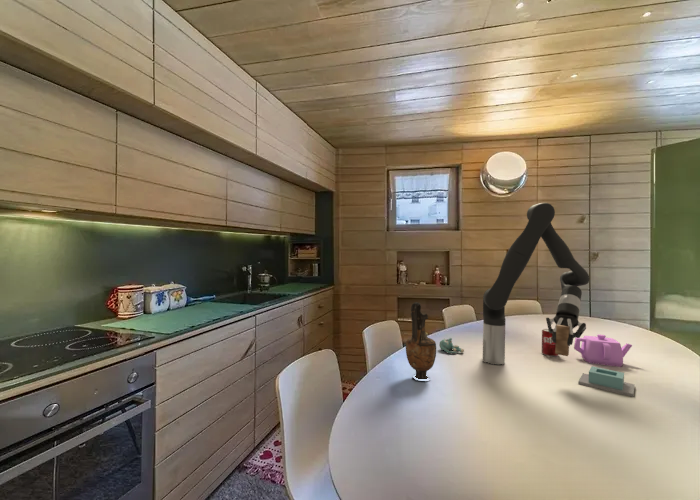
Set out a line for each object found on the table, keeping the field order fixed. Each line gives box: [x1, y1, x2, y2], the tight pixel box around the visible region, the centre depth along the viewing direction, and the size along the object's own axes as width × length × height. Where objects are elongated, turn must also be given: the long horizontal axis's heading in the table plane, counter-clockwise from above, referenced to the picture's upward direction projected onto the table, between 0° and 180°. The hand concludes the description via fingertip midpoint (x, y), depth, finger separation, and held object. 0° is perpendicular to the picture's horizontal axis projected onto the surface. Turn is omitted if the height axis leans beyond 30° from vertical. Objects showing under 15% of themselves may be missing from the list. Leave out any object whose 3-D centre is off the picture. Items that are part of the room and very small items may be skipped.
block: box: [555, 324, 570, 357], centre depth 128 cm, size 4×2×11 cm, turn 48°
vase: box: [405, 301, 437, 379], centre depth 129 cm, size 12×12×30 cm
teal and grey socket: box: [577, 365, 636, 398], centre depth 126 cm, size 16×12×5 cm
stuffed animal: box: [439, 337, 465, 354], centre depth 165 cm, size 11×7×12 cm
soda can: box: [541, 328, 560, 358], centre depth 163 cm, size 7×7×12 cm
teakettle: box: [573, 333, 633, 368], centre depth 155 cm, size 17×17×12 cm
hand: (561, 343), depth 126 cm, fingers closed on block, 4 cm apart
